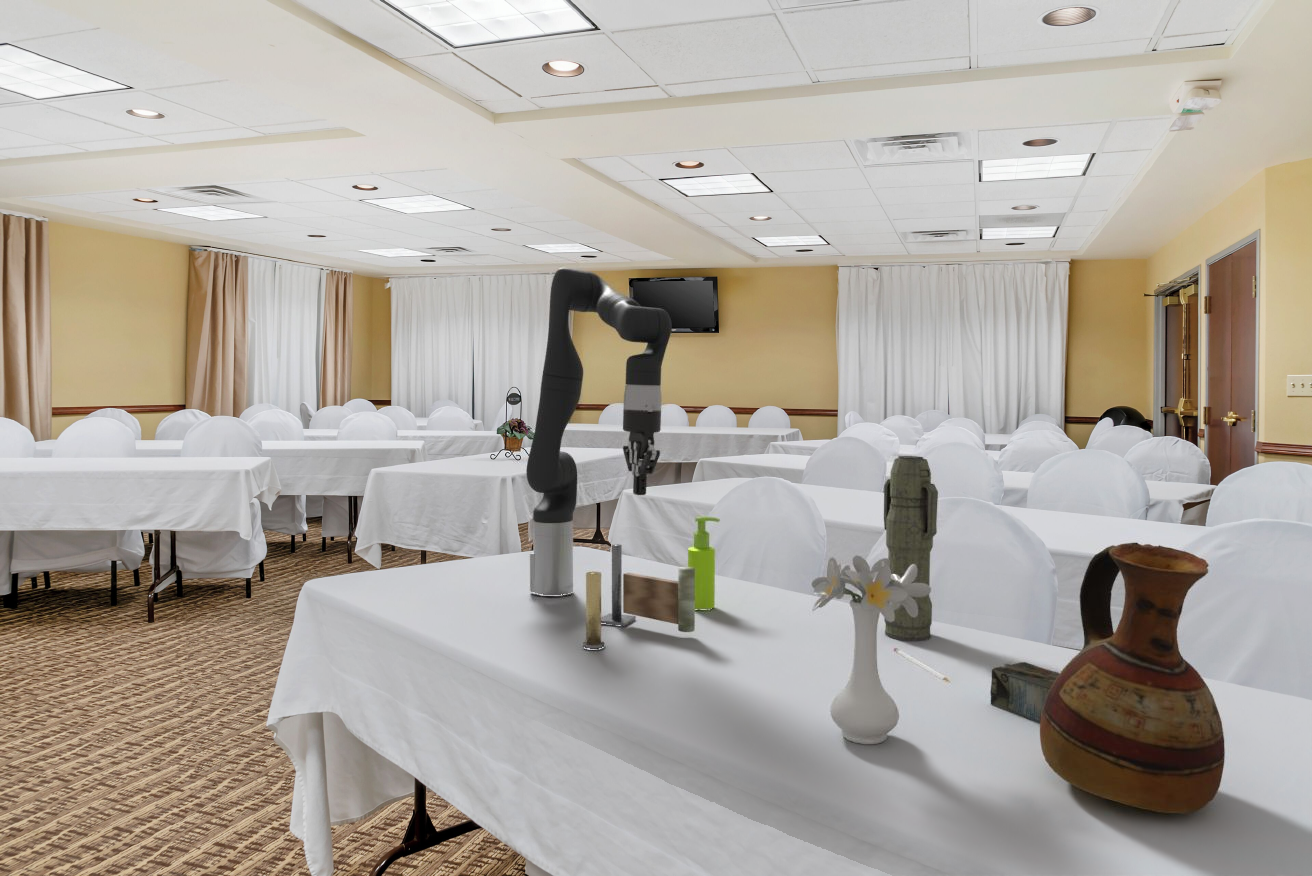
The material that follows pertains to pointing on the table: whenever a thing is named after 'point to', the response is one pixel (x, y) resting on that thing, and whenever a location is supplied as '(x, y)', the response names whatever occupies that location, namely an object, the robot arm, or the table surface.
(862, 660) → the flower vase
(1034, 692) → the beverage carton
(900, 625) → the thermos
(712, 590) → the soap dispenser
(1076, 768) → the ceramic pitcher
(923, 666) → the pencil
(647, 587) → the gate
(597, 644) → the post
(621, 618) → the hinge post
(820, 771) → the table surface
